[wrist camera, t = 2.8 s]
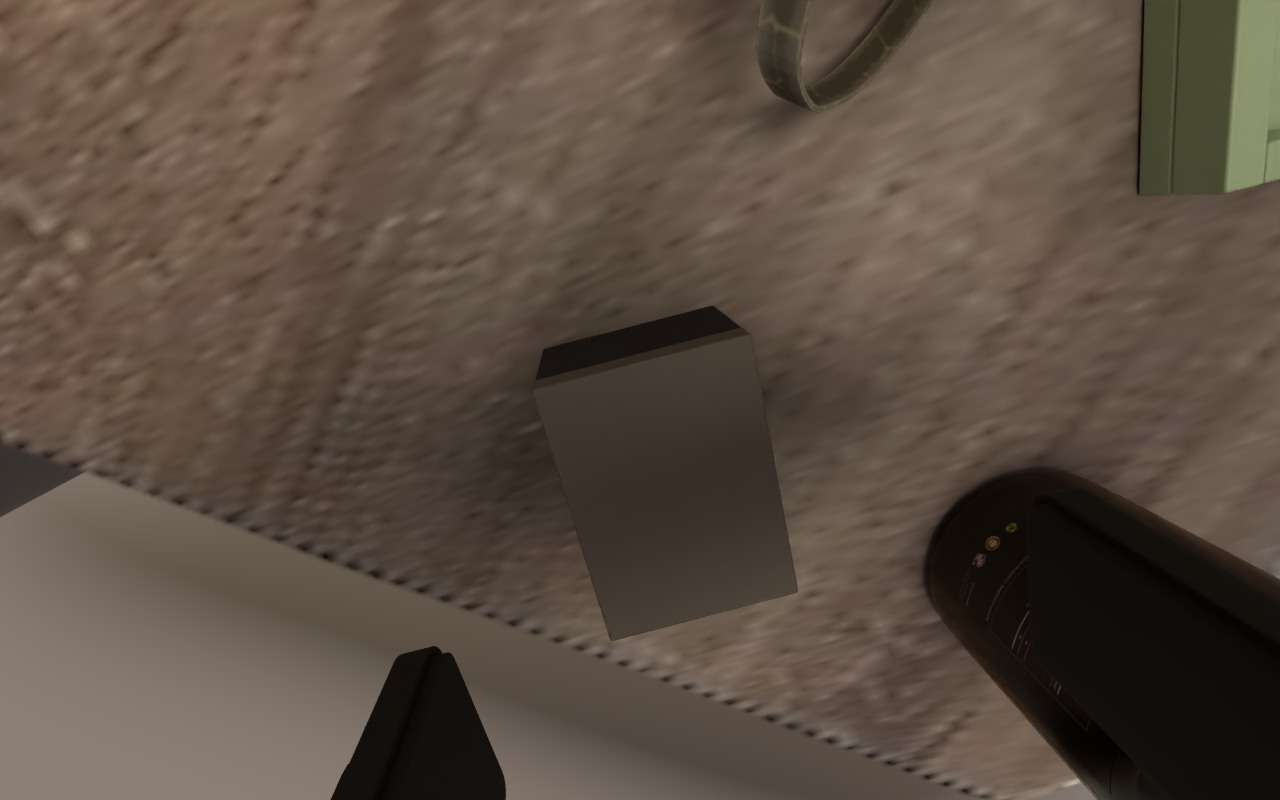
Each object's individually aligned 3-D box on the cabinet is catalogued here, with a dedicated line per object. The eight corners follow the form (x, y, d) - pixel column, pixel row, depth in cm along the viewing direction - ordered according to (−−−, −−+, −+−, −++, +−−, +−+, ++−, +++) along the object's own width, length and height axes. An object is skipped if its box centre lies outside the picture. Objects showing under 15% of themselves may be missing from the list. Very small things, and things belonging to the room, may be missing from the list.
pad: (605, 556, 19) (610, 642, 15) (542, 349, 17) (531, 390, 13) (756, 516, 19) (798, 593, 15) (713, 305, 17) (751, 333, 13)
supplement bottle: (1151, 526, 21) (1839, 913, 9) (1014, 666, 22) (1468, 1151, 11) (1019, 424, 19) (1660, 746, 8) (879, 583, 20) (1249, 1052, 9)
